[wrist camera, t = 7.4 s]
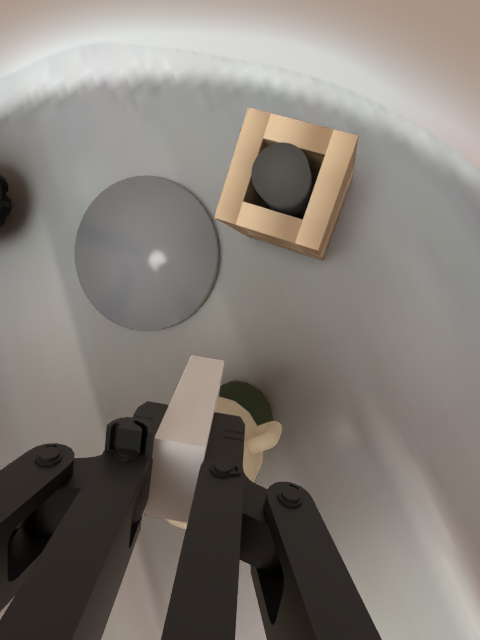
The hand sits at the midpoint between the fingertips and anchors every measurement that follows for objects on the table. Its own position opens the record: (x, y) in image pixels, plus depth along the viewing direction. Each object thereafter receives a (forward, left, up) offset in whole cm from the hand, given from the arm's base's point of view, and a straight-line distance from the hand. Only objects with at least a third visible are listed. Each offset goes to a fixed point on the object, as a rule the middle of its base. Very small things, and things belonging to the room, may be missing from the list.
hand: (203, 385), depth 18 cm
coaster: (-13, +3, -19) cm, 23 cm away
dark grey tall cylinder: (-1, +11, -17) cm, 21 cm away
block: (-1, +11, -19) cm, 22 cm away
